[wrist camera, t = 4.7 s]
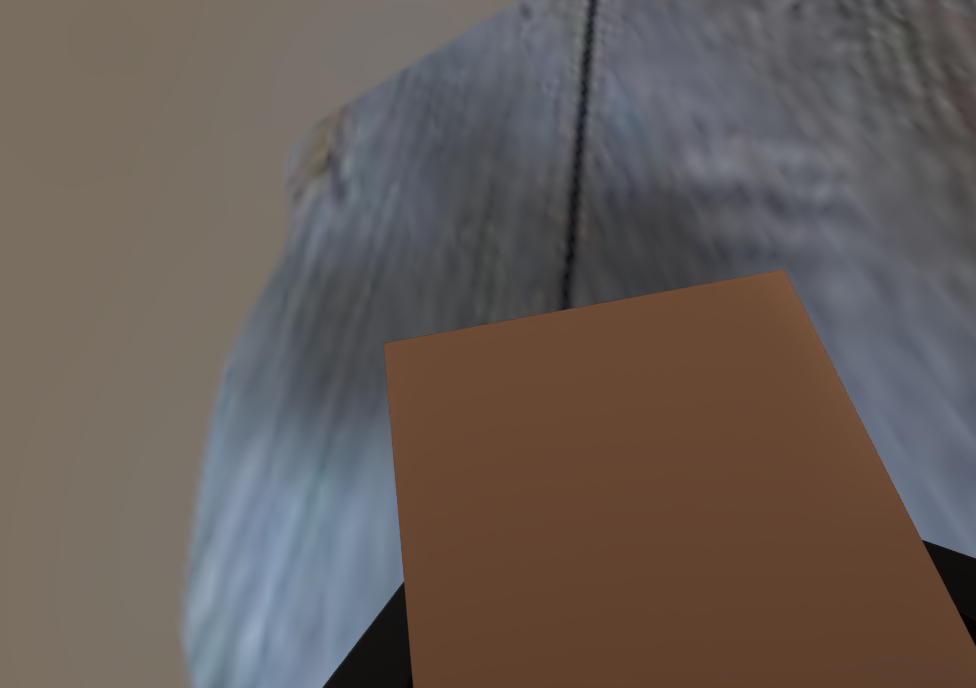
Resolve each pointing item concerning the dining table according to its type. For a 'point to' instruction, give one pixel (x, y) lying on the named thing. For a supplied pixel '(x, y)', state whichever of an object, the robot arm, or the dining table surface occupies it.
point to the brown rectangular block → (656, 506)
